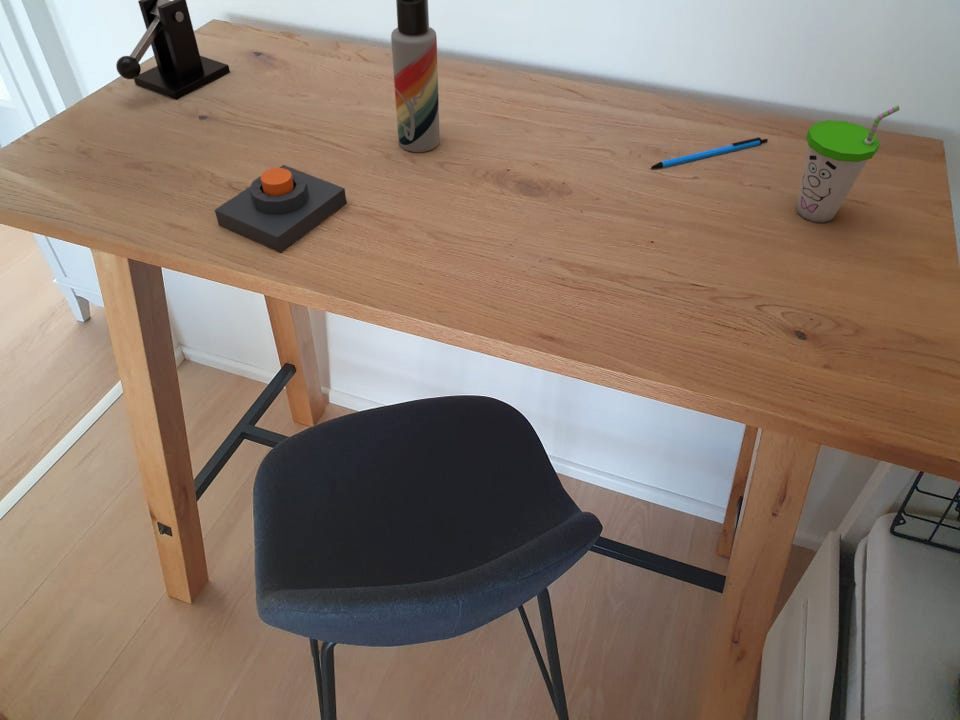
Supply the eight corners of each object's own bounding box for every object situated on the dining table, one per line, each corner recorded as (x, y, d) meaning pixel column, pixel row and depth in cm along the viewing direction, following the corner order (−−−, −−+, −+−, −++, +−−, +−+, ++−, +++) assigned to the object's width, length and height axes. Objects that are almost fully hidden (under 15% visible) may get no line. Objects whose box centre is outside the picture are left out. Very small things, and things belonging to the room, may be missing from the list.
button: (279, 200, 89) (276, 187, 88) (256, 191, 91) (253, 178, 90) (300, 186, 92) (298, 173, 90) (277, 177, 93) (275, 164, 92)
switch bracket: (176, 99, 114) (153, 19, 106) (135, 84, 117) (109, 5, 109) (230, 72, 121) (212, -6, 112) (189, 58, 124) (169, -19, 116)
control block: (280, 252, 88) (274, 224, 85) (218, 225, 92) (210, 196, 89) (346, 203, 95) (343, 175, 93) (286, 179, 99) (281, 151, 96)
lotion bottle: (393, 150, 105) (381, -2, 90) (405, 129, 108) (396, -19, 94) (433, 155, 104) (427, 3, 89) (444, 135, 108) (440, -15, 93)
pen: (768, 144, 107) (770, 137, 106) (651, 172, 102) (652, 164, 101) (763, 141, 108) (766, 134, 107) (647, 169, 102) (649, 161, 101)
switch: (137, 86, 111) (122, 72, 108) (122, 81, 112) (107, 66, 109) (184, 15, 113) (171, -1, 110) (169, 10, 114) (155, -6, 111)
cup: (769, 207, 96) (806, 93, 85) (809, 188, 99) (850, 76, 88) (821, 238, 91) (867, 122, 81) (861, 217, 94) (911, 102, 84)
